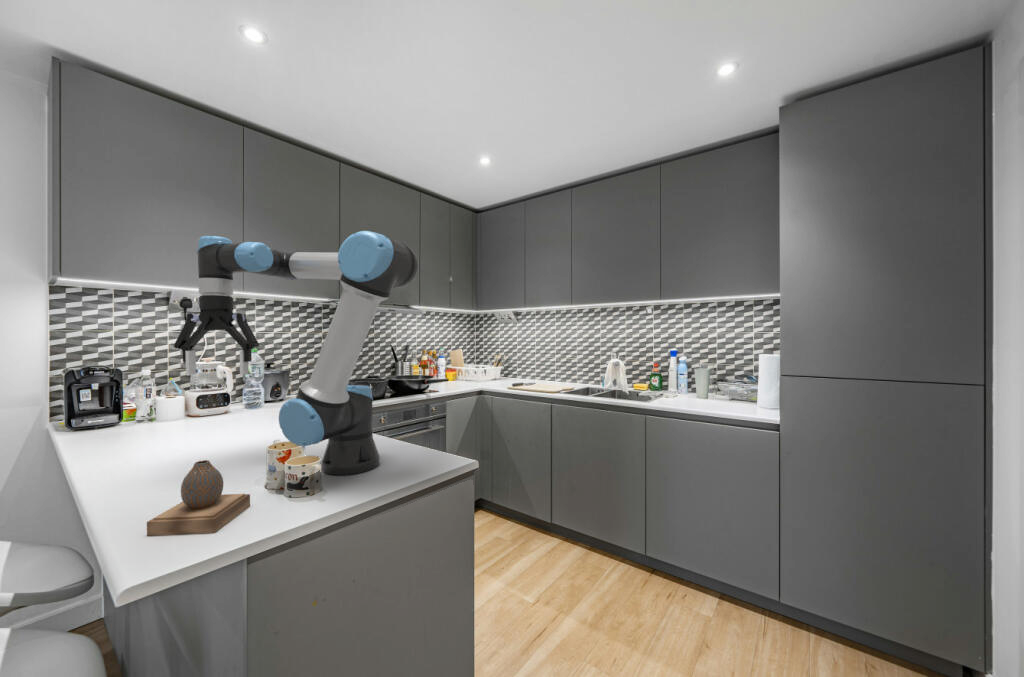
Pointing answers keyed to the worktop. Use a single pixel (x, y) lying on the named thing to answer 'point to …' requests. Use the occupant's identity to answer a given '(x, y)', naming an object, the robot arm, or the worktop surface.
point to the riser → (198, 517)
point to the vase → (202, 485)
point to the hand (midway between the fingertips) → (217, 374)
